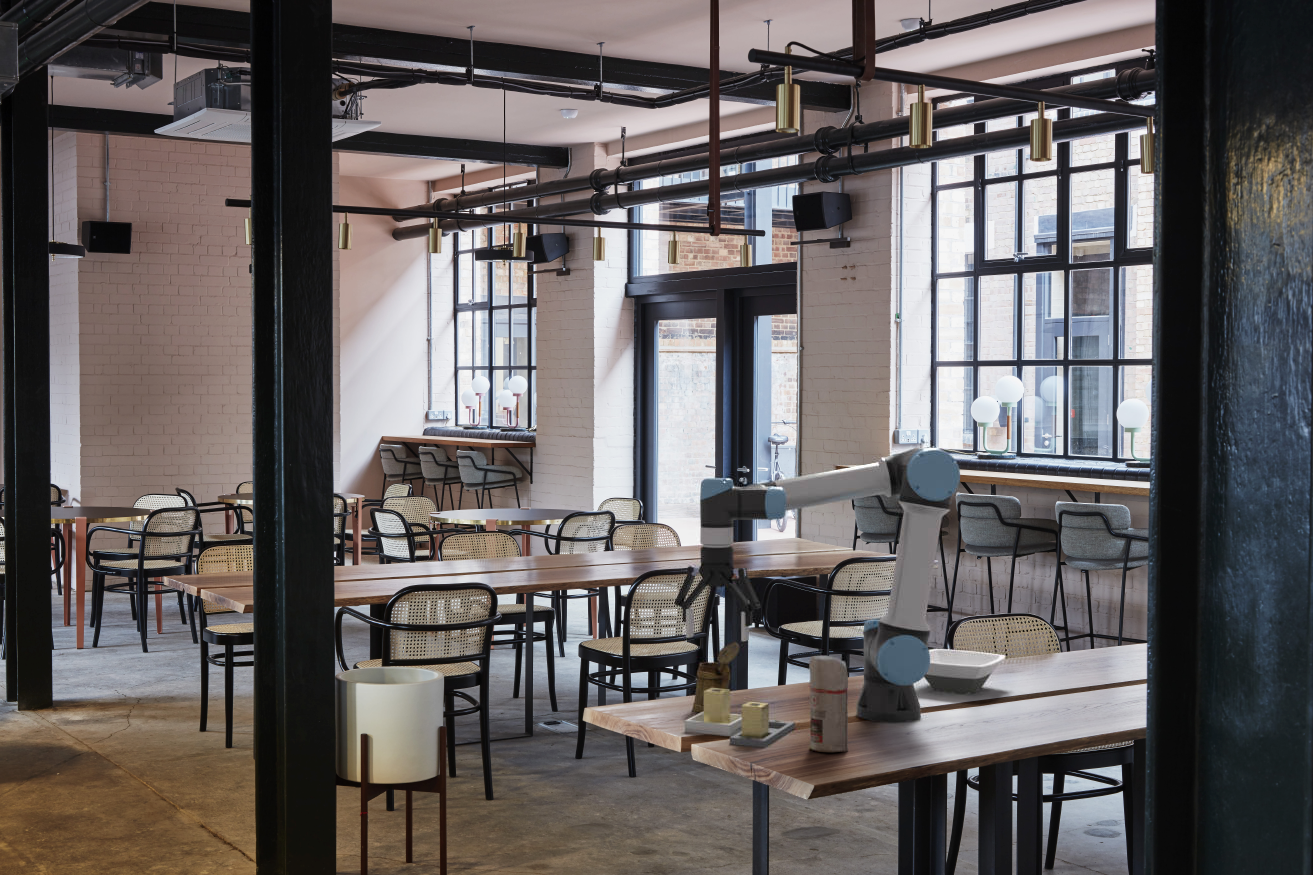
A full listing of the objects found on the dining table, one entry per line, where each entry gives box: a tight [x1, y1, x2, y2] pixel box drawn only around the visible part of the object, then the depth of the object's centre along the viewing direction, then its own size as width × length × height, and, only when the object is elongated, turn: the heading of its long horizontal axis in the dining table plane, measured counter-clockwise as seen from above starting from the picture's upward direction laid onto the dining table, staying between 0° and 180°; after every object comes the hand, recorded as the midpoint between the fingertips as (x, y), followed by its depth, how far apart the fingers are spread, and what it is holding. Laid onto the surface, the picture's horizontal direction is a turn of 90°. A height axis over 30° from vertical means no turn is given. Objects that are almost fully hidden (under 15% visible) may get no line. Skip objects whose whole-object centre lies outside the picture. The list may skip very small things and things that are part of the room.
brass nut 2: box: [741, 701, 770, 739], centre depth 280 cm, size 5×5×8 cm
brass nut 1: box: [704, 688, 731, 724], centre depth 291 cm, size 5×5×8 cm
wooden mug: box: [691, 641, 740, 714], centre depth 310 cm, size 9×14×18 cm, turn 36°
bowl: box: [923, 648, 1006, 694], centre depth 338 cm, size 22×23×8 cm
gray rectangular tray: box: [729, 719, 796, 749], centre depth 284 cm, size 8×20×2 cm, turn 155°
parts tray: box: [684, 711, 742, 737], centre depth 291 cm, size 11×11×2 cm
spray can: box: [808, 655, 849, 753], centre depth 272 cm, size 8×8×20 cm
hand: (717, 638), depth 291 cm, fingers open, 13 cm apart
